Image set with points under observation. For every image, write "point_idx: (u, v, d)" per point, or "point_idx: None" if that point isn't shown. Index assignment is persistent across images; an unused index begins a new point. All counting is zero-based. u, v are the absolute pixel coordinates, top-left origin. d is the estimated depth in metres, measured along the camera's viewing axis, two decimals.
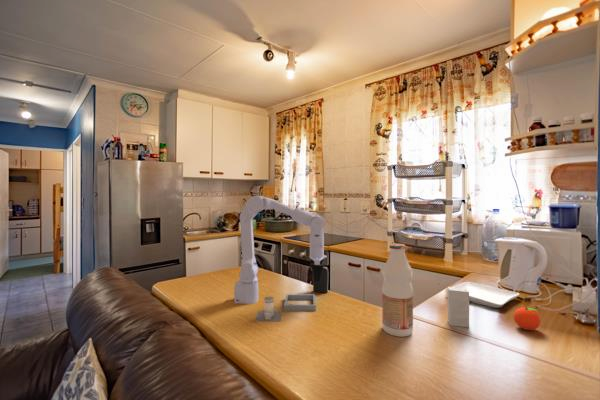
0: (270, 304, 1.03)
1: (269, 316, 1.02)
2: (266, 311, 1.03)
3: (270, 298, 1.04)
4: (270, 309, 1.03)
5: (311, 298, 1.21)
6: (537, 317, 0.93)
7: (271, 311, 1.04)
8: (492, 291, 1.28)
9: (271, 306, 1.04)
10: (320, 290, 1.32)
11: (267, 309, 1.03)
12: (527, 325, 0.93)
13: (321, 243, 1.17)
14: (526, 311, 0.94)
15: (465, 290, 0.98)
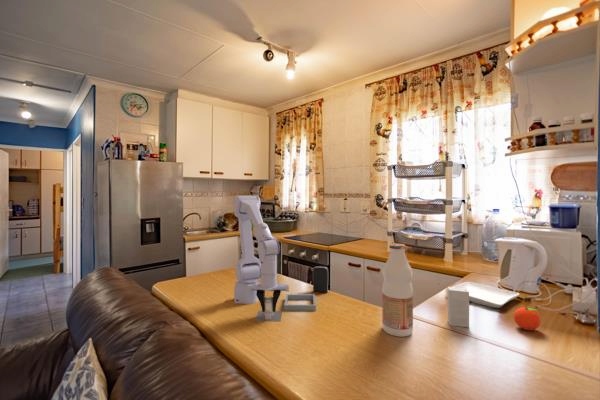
0: (270, 304, 1.03)
1: (269, 316, 1.02)
2: (266, 311, 1.03)
3: (270, 298, 1.04)
4: (270, 309, 1.03)
5: (311, 298, 1.21)
6: (537, 317, 0.93)
7: (271, 311, 1.04)
8: (492, 291, 1.28)
9: (271, 306, 1.04)
10: (320, 290, 1.32)
11: (267, 309, 1.03)
12: (527, 325, 0.93)
13: (265, 272, 1.02)
14: (526, 311, 0.94)
15: (465, 290, 0.98)
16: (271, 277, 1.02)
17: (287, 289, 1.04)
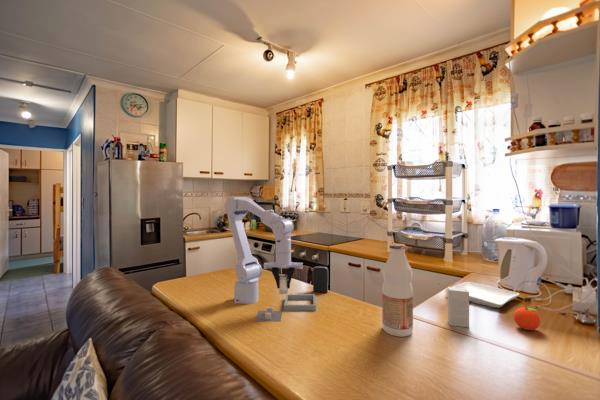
0: (285, 280, 1.08)
1: (269, 316, 1.02)
2: (281, 288, 1.08)
3: (284, 275, 1.09)
4: (284, 286, 1.08)
5: (311, 298, 1.21)
6: (537, 317, 0.93)
7: (285, 288, 1.08)
8: (492, 291, 1.28)
9: (285, 283, 1.08)
10: (320, 290, 1.32)
11: (282, 286, 1.08)
12: (527, 325, 0.93)
13: (283, 250, 1.06)
14: (526, 311, 0.94)
15: (465, 290, 0.98)
16: (286, 255, 1.07)
17: (301, 267, 1.08)
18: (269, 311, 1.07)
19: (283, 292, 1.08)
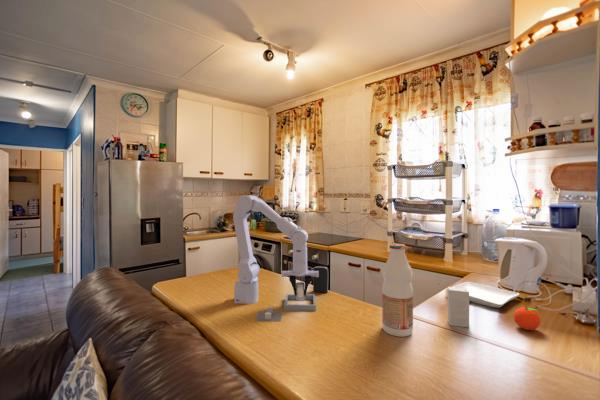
0: (302, 288, 1.14)
1: (269, 316, 1.02)
2: (298, 295, 1.14)
3: (301, 283, 1.15)
4: (301, 293, 1.14)
5: (311, 298, 1.21)
6: (537, 317, 0.93)
7: (302, 295, 1.14)
8: (492, 291, 1.28)
9: (302, 290, 1.14)
10: (320, 290, 1.32)
11: (299, 293, 1.14)
12: (527, 325, 0.93)
13: (303, 259, 1.13)
14: (526, 311, 0.94)
15: (465, 290, 0.98)
16: (303, 264, 1.13)
17: (317, 275, 1.14)
18: (269, 311, 1.07)
19: (300, 299, 1.14)
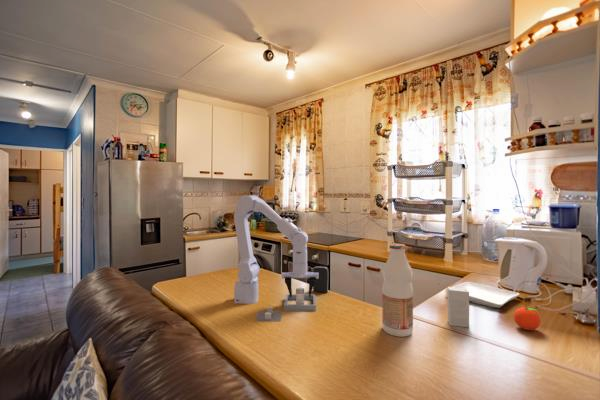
0: (301, 294, 1.14)
1: (269, 316, 1.02)
2: (297, 301, 1.14)
3: (301, 289, 1.15)
4: (301, 299, 1.14)
5: (311, 298, 1.21)
6: (537, 317, 0.93)
7: (302, 301, 1.14)
8: (492, 291, 1.28)
9: (302, 296, 1.14)
10: (320, 290, 1.32)
11: (298, 299, 1.14)
12: (527, 325, 0.93)
13: (303, 260, 1.13)
14: (526, 311, 0.94)
15: (465, 290, 0.98)
16: (303, 265, 1.13)
17: (317, 276, 1.14)
18: (269, 311, 1.07)
19: None
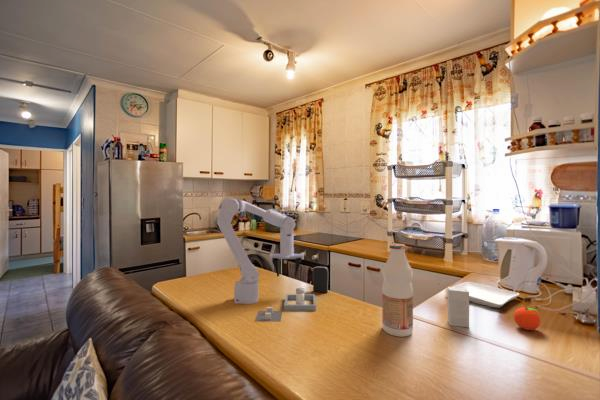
0: (301, 294, 1.14)
1: (269, 316, 1.02)
2: (298, 301, 1.14)
3: (301, 289, 1.15)
4: (301, 299, 1.14)
5: (311, 298, 1.21)
6: (537, 317, 0.93)
7: (302, 301, 1.14)
8: (492, 291, 1.28)
9: (302, 296, 1.14)
10: (320, 290, 1.32)
11: (298, 299, 1.14)
12: (527, 325, 0.93)
13: (292, 242, 1.24)
14: (526, 311, 0.94)
15: (465, 290, 0.98)
16: (289, 247, 1.23)
17: (302, 257, 1.24)
18: (269, 311, 1.07)
19: None
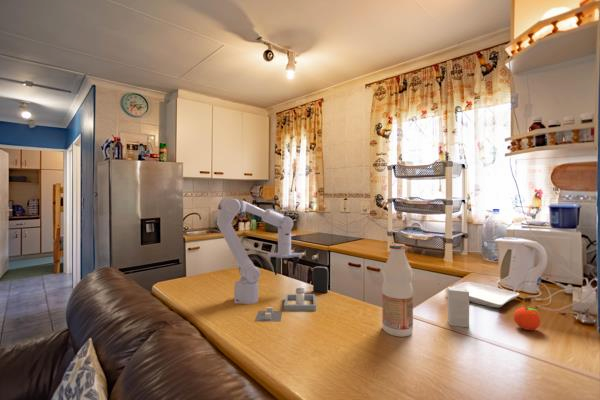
0: (301, 294, 1.14)
1: (269, 316, 1.02)
2: (298, 301, 1.14)
3: (301, 289, 1.15)
4: (301, 299, 1.14)
5: (311, 298, 1.21)
6: (537, 317, 0.93)
7: (302, 301, 1.14)
8: (492, 291, 1.28)
9: (302, 296, 1.14)
10: (320, 290, 1.32)
11: (298, 299, 1.14)
12: (527, 325, 0.93)
13: (290, 241, 1.26)
14: (526, 311, 0.94)
15: (465, 290, 0.98)
16: (287, 246, 1.25)
17: (300, 256, 1.26)
18: (269, 311, 1.07)
19: None
